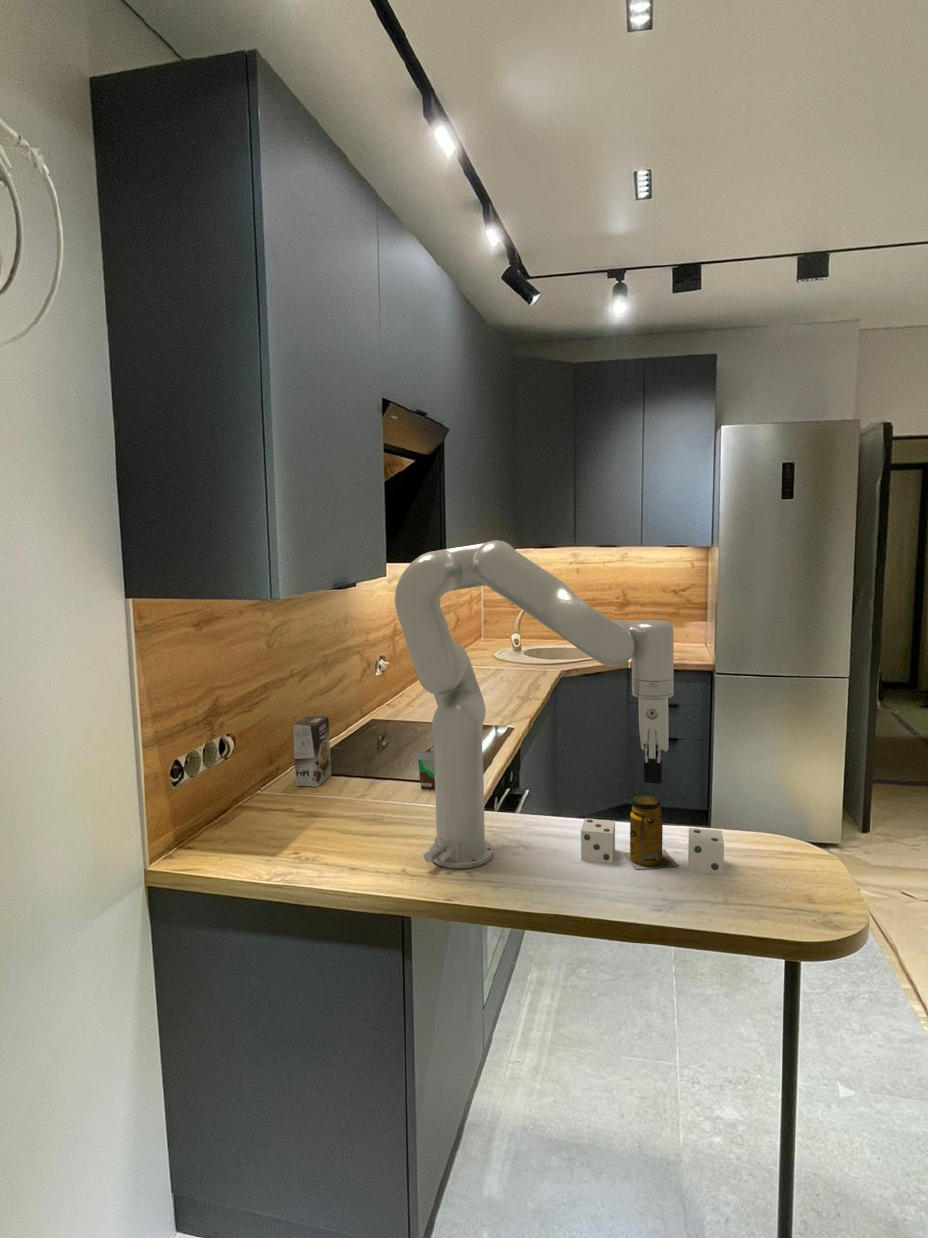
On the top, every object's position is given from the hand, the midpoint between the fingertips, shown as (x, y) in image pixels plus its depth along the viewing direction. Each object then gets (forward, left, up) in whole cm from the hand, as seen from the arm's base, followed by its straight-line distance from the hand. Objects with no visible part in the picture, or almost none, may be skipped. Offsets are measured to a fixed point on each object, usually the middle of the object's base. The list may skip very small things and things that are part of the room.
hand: (652, 781), depth 137 cm
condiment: (0, 0, -16) cm, 16 cm away
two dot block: (+3, -9, -16) cm, 18 cm away
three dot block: (-3, +10, -16) cm, 19 cm away
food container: (+13, +59, -16) cm, 62 cm away
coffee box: (-1, +90, -16) cm, 91 cm away
